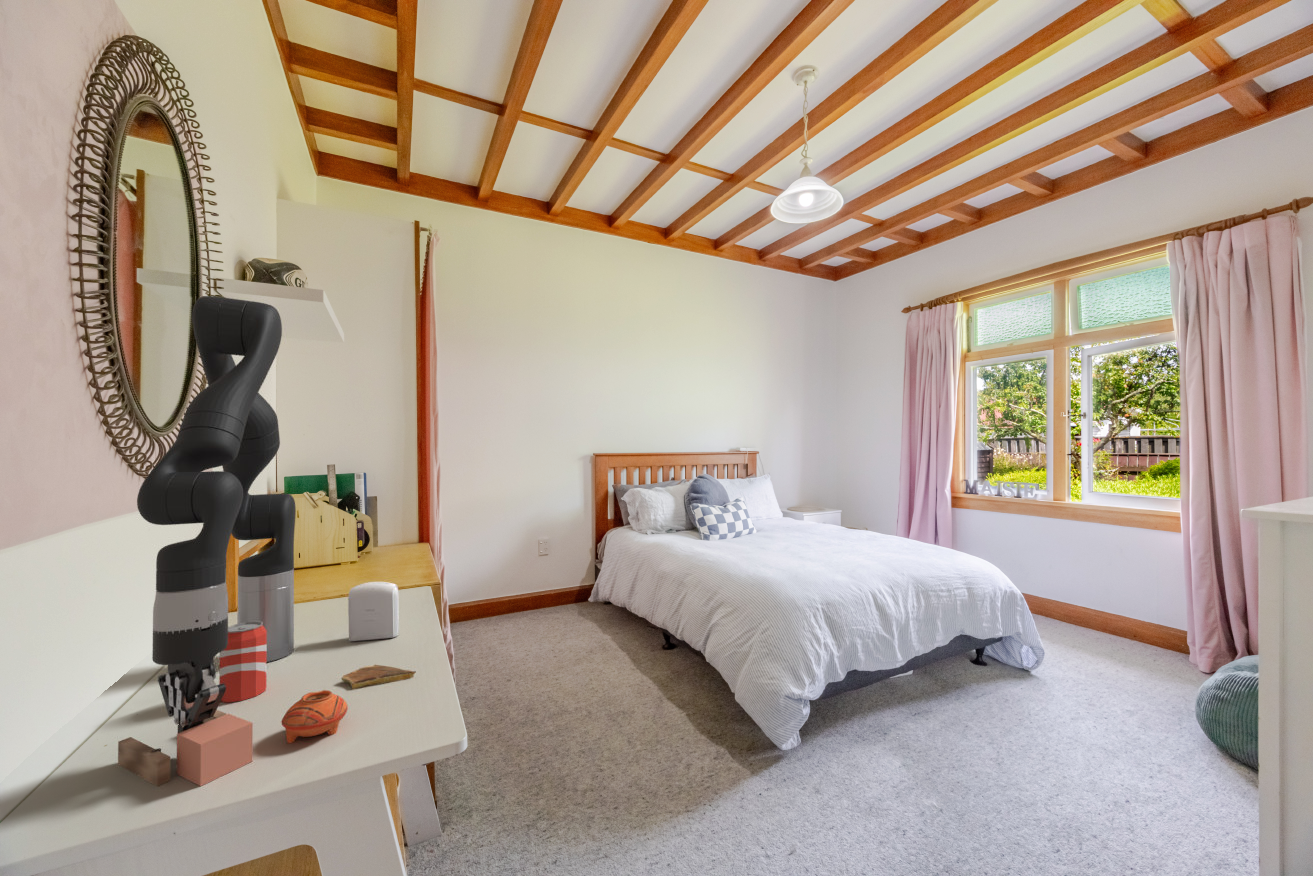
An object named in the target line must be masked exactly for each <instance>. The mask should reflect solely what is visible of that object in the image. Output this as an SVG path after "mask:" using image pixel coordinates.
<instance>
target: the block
mask: <svg viewBox="0 0 1313 876" xmlns="http://www.w3.org/2000/svg"><path fill="white" fill-rule="evenodd" d="M253 724H254V723H253V722H251V721H249V720H246V719H243V718H241V717H239V716H236V715H233V714H230V713H226V715H224V716H221V717H218V718H216V719H213V720H211V721H208V722H206V723H203V724H201V725H198V726H195V727H193V728H190V729H188V730H185V731H183V732H180V733H178V732H177V734H176V774H177V775H178V776H180V777H182V778H184V779H186V780H188V781H189V782H192V783H194V784H195V785H198V786H199V787H202V786H204V785H206V784H208V783H210V782H212V781H215V780H217V779H219V778H221V777H223V776H225V775H227V774H229V773H231V772H234V771H236V770H238V769H240V768H242V767H245V766H246V765H249V764H251V763H252V762H253V738H254V737H253V731H254V730H253V727H254V725H253Z"/></svg>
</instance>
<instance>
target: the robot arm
mask: <svg viewBox="0 0 1313 876" xmlns="http://www.w3.org/2000/svg"><path fill="white" fill-rule="evenodd" d="M191 318H192V320H191V321H192V328H193V329H192V330H193V334H194V339H195V343H196V347H197V350H198V354H199V358H200V360H201V364H202V367H203V371H204V375H205V378H206V383H207V387H205V388H203V390H201V391H200V392H198V394H197V395H196V396H195V397H194V398H193V399H192V401H191V402H190V403H189V405H188V406H187V408H186V410H185V412H184V415H183V418H182V421H181V424H180V427H179V430H178V432H177V433H178V434H177V436H176V440H175V441H174V443H173V444H172V445H171V447H170V448H169V449H168V450H167V452H166V453H165V454H163V457H162V458H161V459H160V460H159V462H157V464H156V465H155V466H154V468H153V469H152V470H151V471H150V472H149V474H148V475H147V476H146V478H145V479H144V481H143V482H142V483H141V486H140V488H139V490H138V494H137V498H136V499H137V500H136V506H137V511H138V512H139V514H140V516H141V517H142V518H143V520H145V521H146V522H148V523H149V524H152V525H159V526H172V525H173V526H175V525H189V524H192V525H193V524H202V528H201V530H200V532H199V533H198V535H196V537H194V538H191V539H188V540H187V539H186V540H182V541H177V542H174V543H170V544H167V545H165V546H163V547H162V548H160V549H159V550H158V552H157V556H156V564H155V566H156V569H155V597H154V603H153V607H152V654H151V655H152V658H151V659H152V662H153V663H155V664H156V665H161V666H167V673H163V674H161V675H159V676H158V678H157V682H158V685H159V689H160V691H161V695H162V698H163V701H164V705H165V709H166V711H167V715H168V717H170V718H171V717H173V722H174V724H175V725H177V734H178V733H180V732H183V731H185V730H188V729H190V728H193V727H195V726H198V725H201V724H203V723H204V720H205V719H207V718H211V717H213V716H214V714H215V712H216V710H218V707H219V706H220V704H221V702H222V701H221V699H222V697H223V695H224V693H225V691H226V686H225V684H224V683H222V684H216V682H215V679H216V678H217V668H216V666H215V660H214V658H215V657H216V656H217V655H218V654H220V652H222V651H223V650H224V649H225V648H226V647H227V645H228V627H229V594H228V589H227V588H228V587H227V581H226V580H227V552H228V549H229V548H228V547H229V543H230V539H231V535H232V537H233V538H234V539H235V540H237V541H238V540H239V541H252V540H253V541H255V540H256V541H257V540H269V539H274V541H275V542H274V543H273V545H271V546H269V548H267V549H265V550H263V551H262V552H259V553H257V554H254V555H251V556H248V557H246V558H244V559H241V560H240V561H239V563H238V565H237V613H236V614H237V617H236V620H237V623H236V624H240V623H245V622H254V621H258V622H263V624H262V625H263V627H264V628H265V629H266V630H267V663H269V662H273V661H276V660H279V659H282V658H286V657H287V656H289V655H290V654H291V655H292V653H293V652H294V650H295V647H294V645H295V642H294V641H295V639H294V638H295V582H294V581H295V579H294V577H295V575H294V574H295V566H294V565H295V558H294V557H295V556H294V554H295V553H294V549H295V548H294V547H295V544H294V543H295V541H294V540H295V526H296V516H297V515H296V508H297V507H296V501H295V499H294V496H293V495H292V494H290V493H267V494H266V493H265V494H264V493H263V494H250V493H249V490H250V488H251V487H252V485H253V483H254V481H255V480H256V478H258V476H259V475H260V474H261V473H262V472H263V470H265V468H267V466H268V465H269V464H270V462H271V461H272V460H273V459H275V457H276V455H277V453H278V451H279V449H280V445H281V438H280V429H279V420H278V415H277V413H276V411H275V410H274V408H273V407H272V406H271V404H270V403H269V402H268V401H267V400H266V399H265V398H264V397H263V396H262V395H261V394H260V393H259V392H260V389H261V387H262V385H263V384H264V382H265V380H266V378H267V375H268V373H269V371H270V369H271V368H272V365H273V363H274V361H275V358H276V356H277V354H278V351H279V349H280V347H281V346H280V345H281V342H282V336H283V325H282V318H281V315H280V313H279V311H278V310H277V308H276V307H274V306H273V305H272V304H268V303H264V302H259V301H252V300H243V299H238V298H237V299H236V298H230V297H223V296H214V295H213V296H212V295H204V296H200V297H198V299H197V300H196V301H195V302H194V305H193V307H192V317H191ZM233 356H240V357H241V356H242V359H241V360H240V361H239V362H238V363H237V364H236V362H235V360H234V358H233ZM219 467H222V469H223V470H222V471H221V470H219V471H217V470H215V471H213V470H212V471H211V469H213V468H214V469H215V468H219ZM206 470H210V471H206Z"/></svg>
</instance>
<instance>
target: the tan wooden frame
mask: <svg viewBox="0 0 1313 876" xmlns="http://www.w3.org/2000/svg"><path fill="white" fill-rule="evenodd" d="M226 714H227V713H226V712H223V711H220V710H218V709H217V710H216V712H215V714H214V716H213V717H211V718H207V719H205V720H204V723H206V722H208V721H211V720H213V719H216V718H218V717H221V716H224V715H226ZM117 743H118V744H117V746H118V748H117V766H120V767H122V768H124V769H126V770H128V771H129V772H130V773H132V774H134V775H136V776H138V777H140V778H141V779H143V780H145V781H147V782H148V783H150V784H153V785H154V786H156V787H157V788H158V787H159V786H160V787H161V786H162V785H165V784H166V783H169V782H171V756H170V755H168V754H166V753H164V752H162V748H159V747H158V748H154V747H152V746H150V745H147V744H145V743H144V742H142V741H140V740H138V739H135V738H134V737H131V736H130V737H127V738H124V739H122V740H119V741H117Z"/></svg>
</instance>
